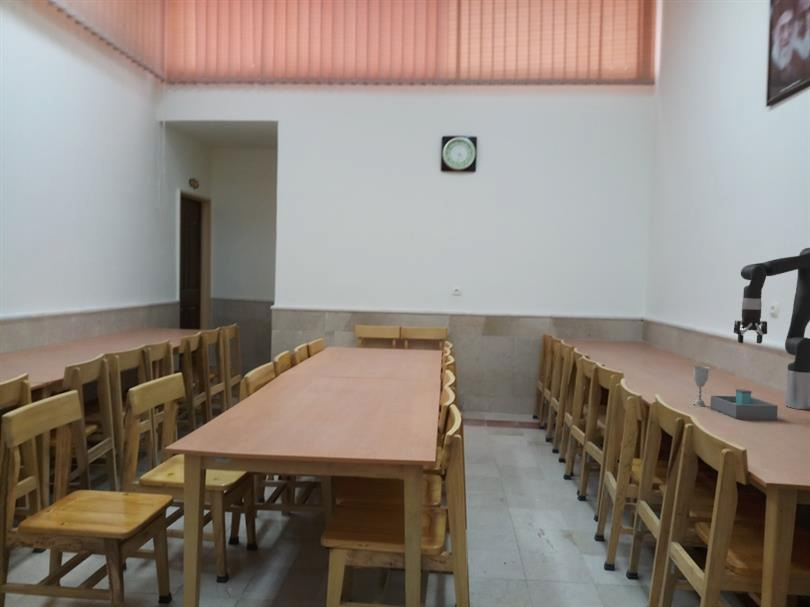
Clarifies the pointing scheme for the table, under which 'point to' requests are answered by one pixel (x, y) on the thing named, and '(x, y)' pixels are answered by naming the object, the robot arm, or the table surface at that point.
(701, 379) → the chalice
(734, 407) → the walled box
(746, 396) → the peg
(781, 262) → the robot arm
